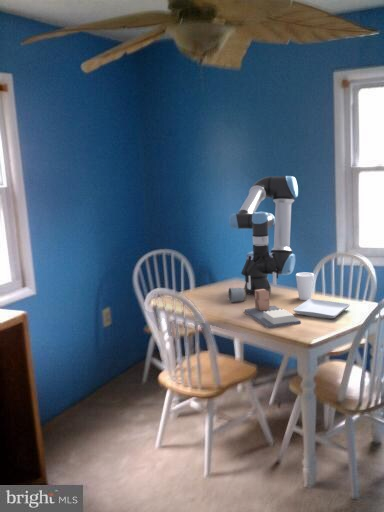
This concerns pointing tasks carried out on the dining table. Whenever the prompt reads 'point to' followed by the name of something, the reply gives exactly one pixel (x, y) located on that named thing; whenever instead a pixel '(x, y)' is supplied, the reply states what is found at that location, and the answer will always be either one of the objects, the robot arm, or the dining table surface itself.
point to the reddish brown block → (262, 299)
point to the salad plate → (321, 308)
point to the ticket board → (265, 322)
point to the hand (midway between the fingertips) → (262, 287)
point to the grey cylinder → (237, 294)
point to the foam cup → (305, 285)
